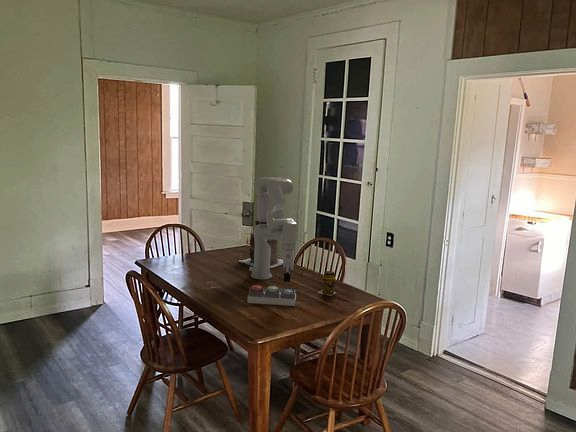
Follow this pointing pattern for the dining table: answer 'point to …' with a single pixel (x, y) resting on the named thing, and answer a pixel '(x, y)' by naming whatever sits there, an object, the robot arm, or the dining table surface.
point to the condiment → (328, 284)
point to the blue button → (288, 291)
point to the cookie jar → (273, 256)
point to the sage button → (272, 289)
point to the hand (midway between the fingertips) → (286, 281)
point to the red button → (257, 288)
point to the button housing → (272, 297)
